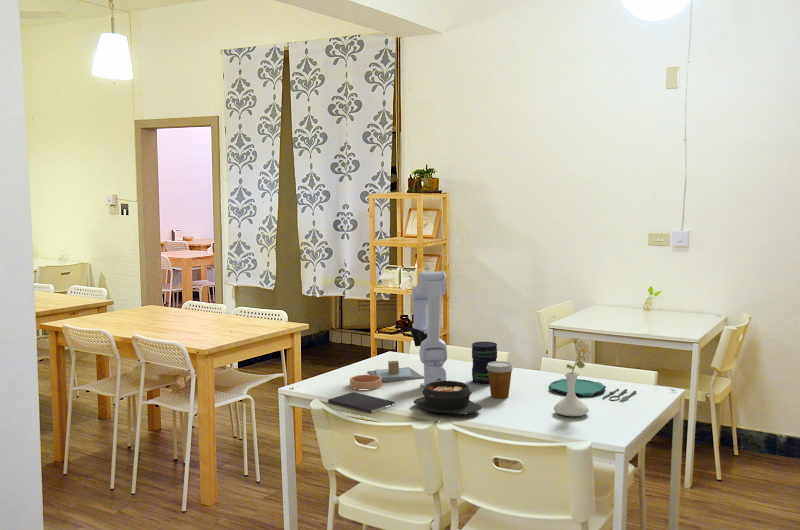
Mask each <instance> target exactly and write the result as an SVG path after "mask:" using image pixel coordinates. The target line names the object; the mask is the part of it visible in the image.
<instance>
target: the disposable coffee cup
mask: <svg viewBox="0 0 800 530" xmlns="http://www.w3.org/2000/svg"><path fill="white" fill-rule="evenodd" d="M486 368H487V370H488V376H489V384H490V385H489V391H490V396H491V398H493V399H500V400H501V399H503V400H504V399H507V398H509V394H510V387H511V380H512V371H513V369H514V366H513V364H512V363H511V362H509V361H504V360H503V361H502V360H501V361H500V360H499V361H498V360H496V361H494V362H489V363H488V365H487V367H486Z"/></svg>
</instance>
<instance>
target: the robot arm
mask: <svg viewBox="0 0 800 530" xmlns="http://www.w3.org/2000/svg"><path fill="white" fill-rule="evenodd" d="M417 281H418V283H417V284H416V285H415V286H412V288H411V299H412V301H413V302H412V303H413V322H412V329H409V331H410V333H411V335H412V339H413V343H414V347H419V360H420V362H421V364H423V375H424V376H423V377H424V378H423V382H422V383H420V386H422V387H423V388H425V385H426V384H428V383H431V382H436V381H447V371H446V369H445V368H444V364H445V363H446V362H447V360H448V350H447V349H448V348H447V344H446V342H445V340H443V339H442V338H440V335H441V333H440V330H441V301H442V297H443V296H444V295H446V292H447V275H446V272H445V271H444V270H441V271H419V272H418V278H417Z"/></svg>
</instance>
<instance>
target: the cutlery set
mask: <svg viewBox="0 0 800 530" xmlns="http://www.w3.org/2000/svg"><path fill="white" fill-rule="evenodd" d="M606 388H607V386H605V384H604V383H602V382H600V381H592V380H589V379H587V380H586V379H579V378H576V382H575V395H576V396H582V397H584V398H585V397H592V396H594V395H597V394H600V393H603V392H604V391H605V389H606ZM548 389H549V391H550V392H552V390H553V391H556V392H558V393H562V394H566V395H567V393H568V383H567V379H566V378H560V379H557V380H555V381H554V380H553V381H552V382H550V383H549V385H548ZM616 391H620V389H619V388H616V389H615V390H613V391H609V393H607V394H605V395H604V396H603V397H602V400H604V399H607V398H608V400H610V401H612V399H613V398H614V399H615V401H618V402H619V403H624V402H627V401H629V399H630V398H631V397H633V396H634V395H635V394H637V390H633V391H632V392H631V393H630V394H628V395H625V396H623V397H622V398H621V397H620V396H621V395H622V394H624V393H626V392H628V389H626V388H624V389H623V390H621V392H619V393H618V394H617V395H614V393H616ZM616 398H617V399H616ZM620 398H621V399H620Z"/></svg>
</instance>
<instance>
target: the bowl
mask: <svg viewBox="0 0 800 530" xmlns="http://www.w3.org/2000/svg"><path fill="white" fill-rule="evenodd" d="M381 386H383V382H382V378H381V377H380V376H376V375H371V374H360V375H359V374H358V375H354V376H351V377H350V378H349V387H350V388H351V387H352V388H355V389H375V388H378V389H380V388H379V387H381ZM352 388H351V389H352ZM381 388H382V387H381ZM355 389H354V390H355ZM375 390H376V389H375Z"/></svg>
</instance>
